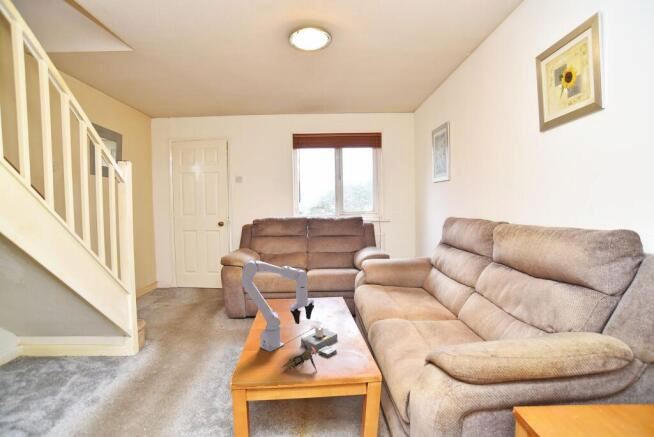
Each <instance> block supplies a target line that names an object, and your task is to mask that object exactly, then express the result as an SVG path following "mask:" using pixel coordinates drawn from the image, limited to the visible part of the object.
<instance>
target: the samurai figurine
mask: <svg viewBox="0 0 654 437" xmlns="http://www.w3.org/2000/svg"><path fill="white" fill-rule="evenodd" d="M315 328H317V326H314V327H312V328H310V329H309V330H307V331H305V332H303V333H302V334H300V335H297V336H296V337H294V338H293V339H291V340H289V341H287V342H285V343H284V345H282V346H280V347H278V348H276V349H275V350H277V349H279V348H281V347H283V346H286V344H288V343H290V342H291V341H294V340H296V339H297V338H298V337H300V336H301V338H300V339H302V338H303V337H302V335H305V334H306V333H308V332H310V331H312V330H313V329H315ZM302 341H303V339H302ZM303 345H304V346H303V347H304V349H305V350H304V351H303V352H302V353H300V354H299V355H294V356H293V358H289V361H287V363H284V364H283V365H280V369H283V368H285V367H286V368H285V369H283V370H282V373H285V371H288V370H290V369H293V370H294V369H296V367H299V366H301V364H302V365H303V364H304V363H305V362H306V361H308V360H309V361H310V362H311V365H312V366H313V367H314V370H315V372H318V370H317V368H316V364H315V362H314V358H313V355H314V356H317V351H316V350H315V349H314V348H313V347H312V346H311V347H312V349H313V350H312V349H309V348H307V346H306V344H305V342H304V341H303ZM287 366H288V367H287Z"/></svg>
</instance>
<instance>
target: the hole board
mask: <svg viewBox="0 0 654 437" xmlns="http://www.w3.org/2000/svg"><path fill="white" fill-rule="evenodd" d="M302 339H303V341H304V342H305V344H306V346H307V348H308V349H309V350H313V349H312V347H313V348H314V349H315V350H316V352H318V350H320V349H322V348H323V347H325V346H328V345H330V344H332V343H334V342H336V341H338V333H336V332H333V331H330V330H326V329H324V328H323V338H322V339H320V340H319V339H316V338H315V332H312V333H311V334H309V335H307V336H305V337H302V338H300V346H302V347H304V345H303V341H302ZM311 346H312V347H311Z"/></svg>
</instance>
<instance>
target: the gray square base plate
mask: <svg viewBox="0 0 654 437" xmlns="http://www.w3.org/2000/svg"><path fill="white" fill-rule="evenodd" d="M317 352H318V353H317V354H318V355H321V356H323V357H326V358H330V357H333V355H335V354H337V352H338V349H336V348H334V347H331V346H328V345H326V346H325V347H323V348H321V349H319V350H317Z"/></svg>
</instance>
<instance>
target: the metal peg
mask: <svg viewBox="0 0 654 437" xmlns="http://www.w3.org/2000/svg"><path fill="white" fill-rule="evenodd" d="M314 329H315V330H314V331H315V332H314V333H315V338H316V339H319V340H320V339H322V338H323V329H324V327H321V326H316V327H315V328H314Z"/></svg>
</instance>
